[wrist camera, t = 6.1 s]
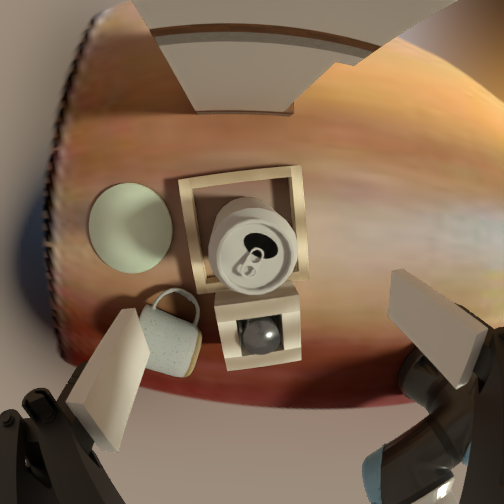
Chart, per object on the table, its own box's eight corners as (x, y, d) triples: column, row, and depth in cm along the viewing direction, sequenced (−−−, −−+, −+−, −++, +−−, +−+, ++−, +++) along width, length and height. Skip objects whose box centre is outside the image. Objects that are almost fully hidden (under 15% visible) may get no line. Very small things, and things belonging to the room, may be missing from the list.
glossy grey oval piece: (274, 329, 35) (281, 351, 30) (243, 333, 35) (246, 357, 30) (272, 301, 34) (279, 322, 29) (239, 306, 34) (241, 327, 29)
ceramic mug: (190, 358, 38) (184, 394, 30) (136, 338, 36) (121, 371, 29) (215, 296, 35) (213, 327, 28) (155, 274, 34) (138, 299, 26)
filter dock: (306, 331, 38) (318, 356, 32) (211, 344, 37) (209, 372, 31) (296, 165, 31) (311, 164, 26) (181, 179, 31) (170, 181, 25)
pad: (180, 265, 34) (179, 267, 33) (102, 275, 33) (100, 277, 32) (165, 175, 30) (163, 175, 30) (84, 192, 30) (81, 193, 29)
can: (288, 214, 33) (320, 238, 21) (259, 268, 34) (274, 316, 23) (231, 185, 31) (234, 192, 20) (203, 242, 33) (190, 280, 22)
